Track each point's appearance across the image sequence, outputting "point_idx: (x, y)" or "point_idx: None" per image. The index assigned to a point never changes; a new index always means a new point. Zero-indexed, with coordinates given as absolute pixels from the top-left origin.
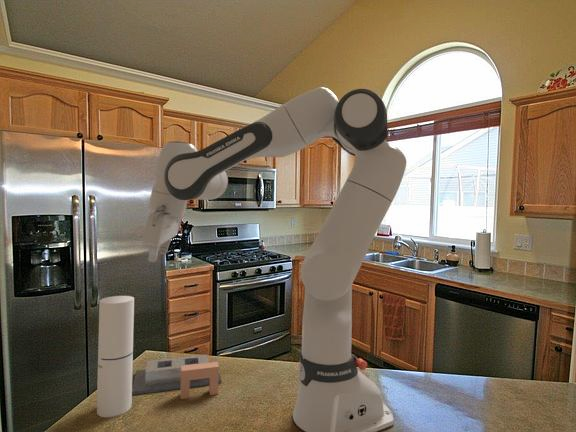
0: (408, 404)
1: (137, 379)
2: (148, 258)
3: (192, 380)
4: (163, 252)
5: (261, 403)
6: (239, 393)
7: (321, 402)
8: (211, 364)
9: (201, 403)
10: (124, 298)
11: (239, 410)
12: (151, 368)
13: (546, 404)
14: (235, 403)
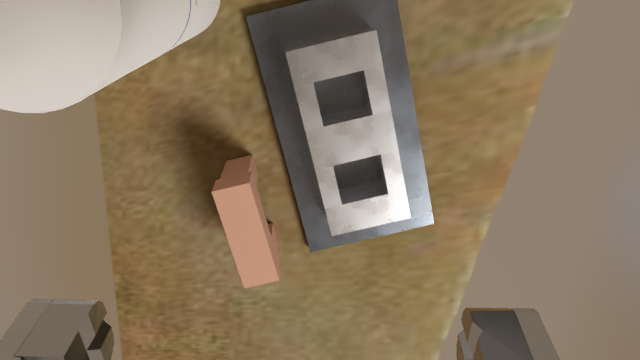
0: None
1: (326, 7)
2: (22, 313)
3: (312, 177)
4: (465, 353)
5: (212, 339)
6: (257, 293)
7: None
8: (258, 267)
9: (208, 214)
10: (48, 47)
11: (180, 298)
12: (309, 64)
13: None
14: (210, 288)
